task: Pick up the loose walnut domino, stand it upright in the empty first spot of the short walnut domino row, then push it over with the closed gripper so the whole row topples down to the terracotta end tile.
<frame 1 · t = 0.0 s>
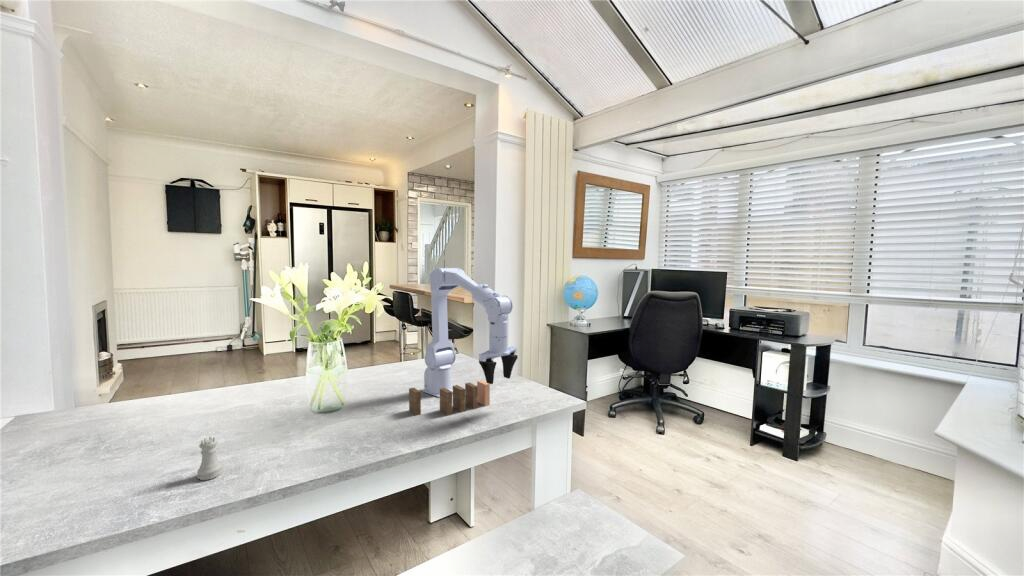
hand: (498, 380, 124), 10 cm above the table, tool pointing down, fingers open, 7 cm apart
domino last: (483, 403, 133), on the table
domino 3: (458, 409, 127), on the table
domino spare: (414, 412, 124), on the table
domino 4: (471, 406, 130), on the table
rook chess piece: (210, 476, 88), on the table
domino 2: (445, 412, 125), on the table
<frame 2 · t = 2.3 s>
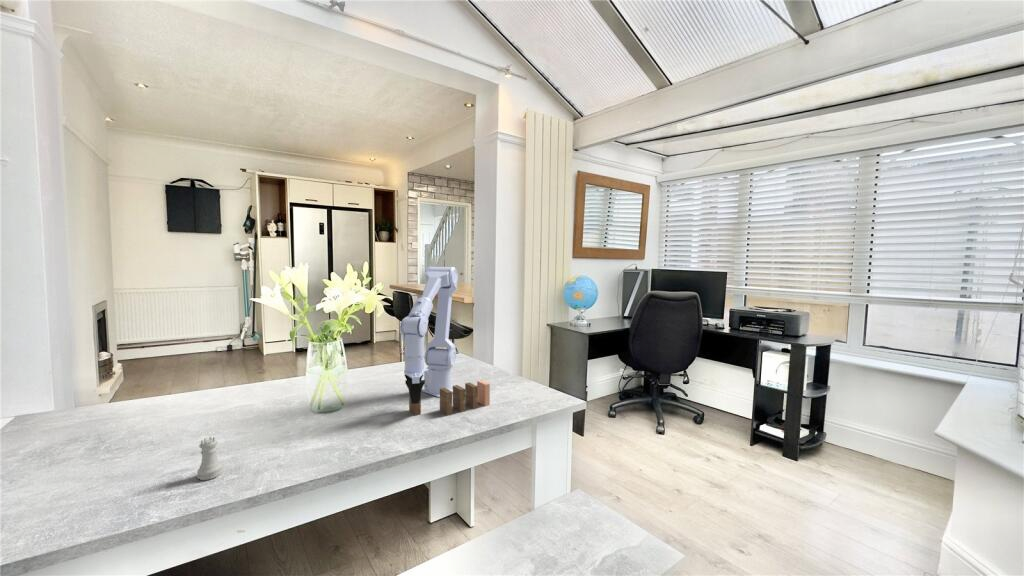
hand: (414, 399, 124), 4 cm above the table, tool pointing down, fingers closed on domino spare, 5 cm apart
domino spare: (414, 412, 124), on the table, touching gripper
everything else where it was.
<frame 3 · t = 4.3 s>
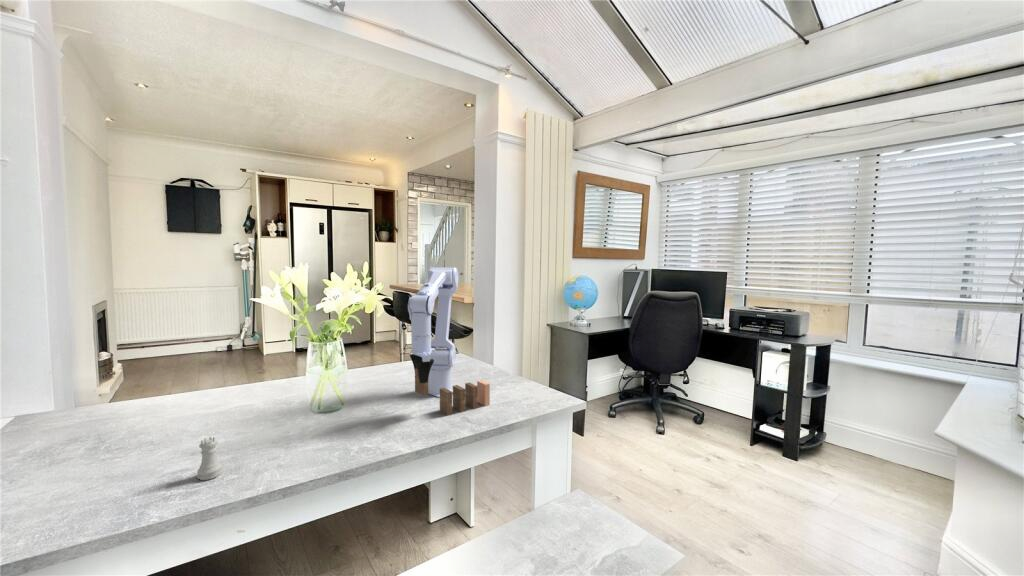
hand: (421, 379, 123), 10 cm above the table, tool pointing down, fingers closed on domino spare, 5 cm apart
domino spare: (421, 392, 123), point 6 cm above the table, touching gripper
everything else where it was.
when the fingers open (5 cm above the table, at t = 6.5 s): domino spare drops 1 cm, on the table.
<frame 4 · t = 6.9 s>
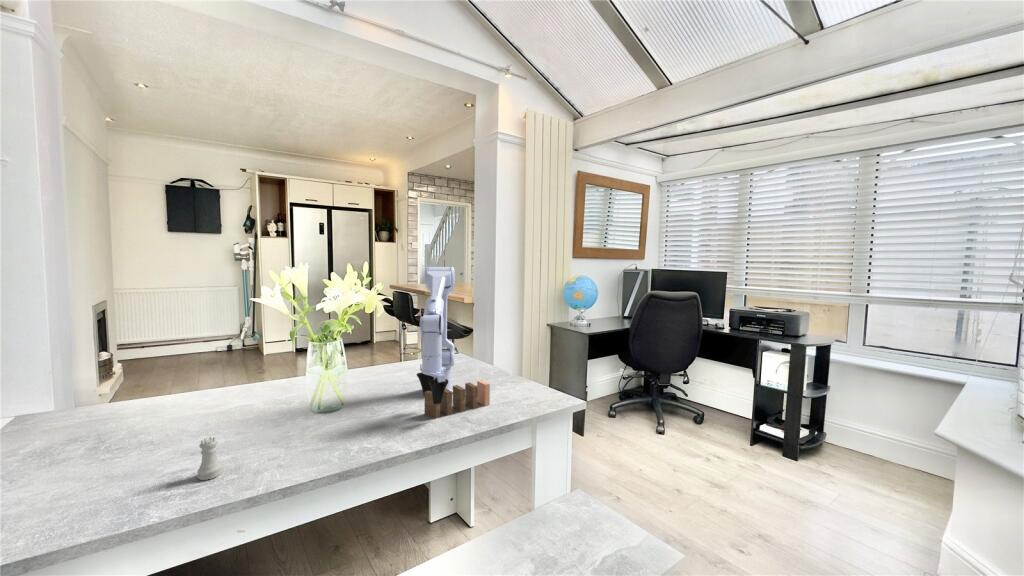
hand: (432, 399, 122), 5 cm above the table, tool pointing down, fingers open, 7 cm apart
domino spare: (432, 415, 122), on the table
everything else where it was.
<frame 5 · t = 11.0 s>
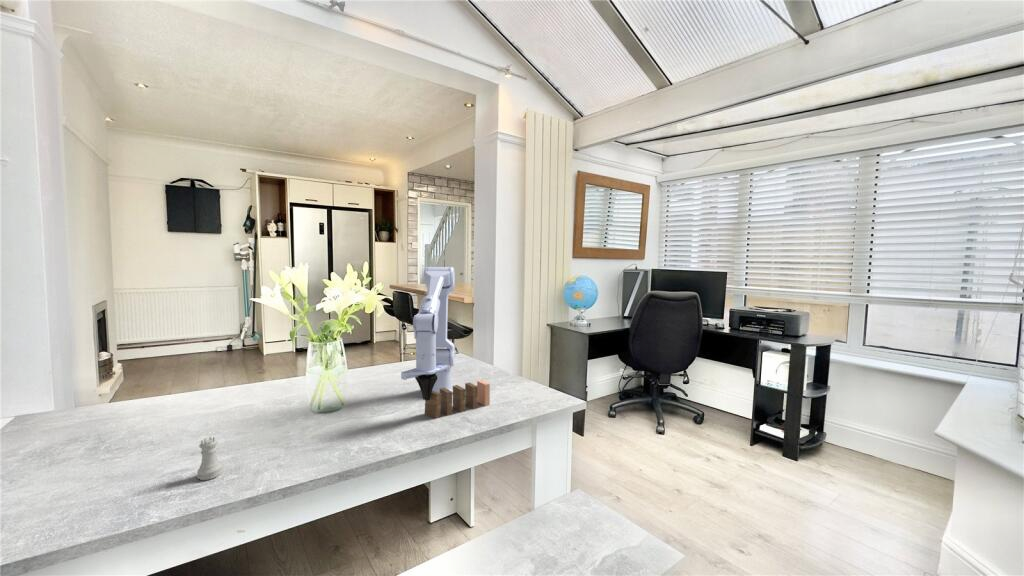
hand: (426, 399, 120), 5 cm above the table, tool pointing down, fingers closed
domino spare: (432, 415, 122), on the table, touching gripper
everything else where it was.
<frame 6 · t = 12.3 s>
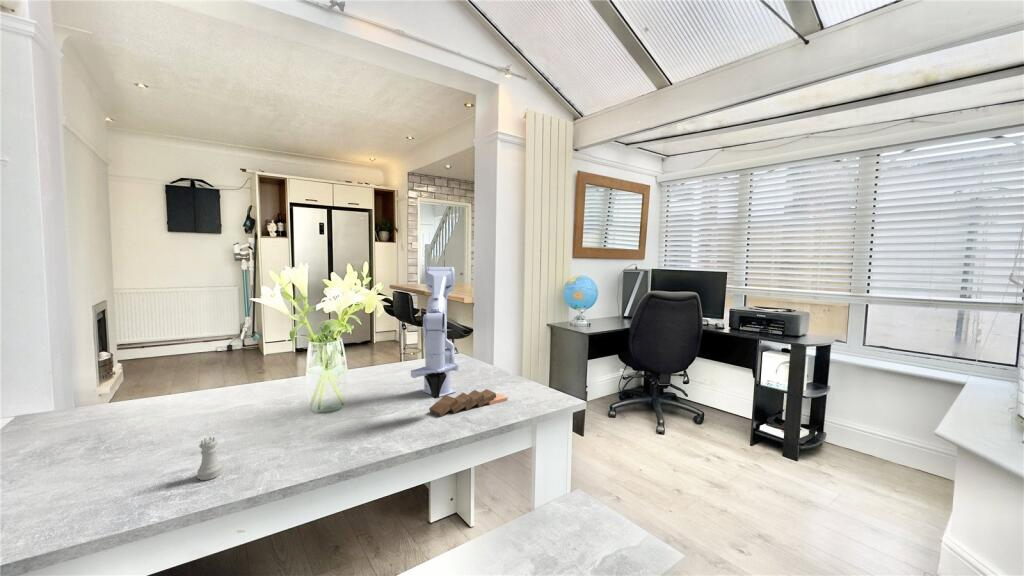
hand: (435, 397, 122), 5 cm above the table, tool pointing down, fingers closed
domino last: (485, 402, 133), on the table, tilted 90°, touching domino 4
domino 3: (462, 406, 128), point 1 cm above the table, tilted 69°, touching domino 2, domino 4
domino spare: (435, 412, 122), point 1 cm above the table, tilted 69°, touching domino 2
domino 4: (474, 402, 131), point 1 cm above the table, tilted 75°, touching domino 3, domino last
domino 2: (449, 409, 125), point 1 cm above the table, tilted 69°, touching domino 3, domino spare
everything else where it was.
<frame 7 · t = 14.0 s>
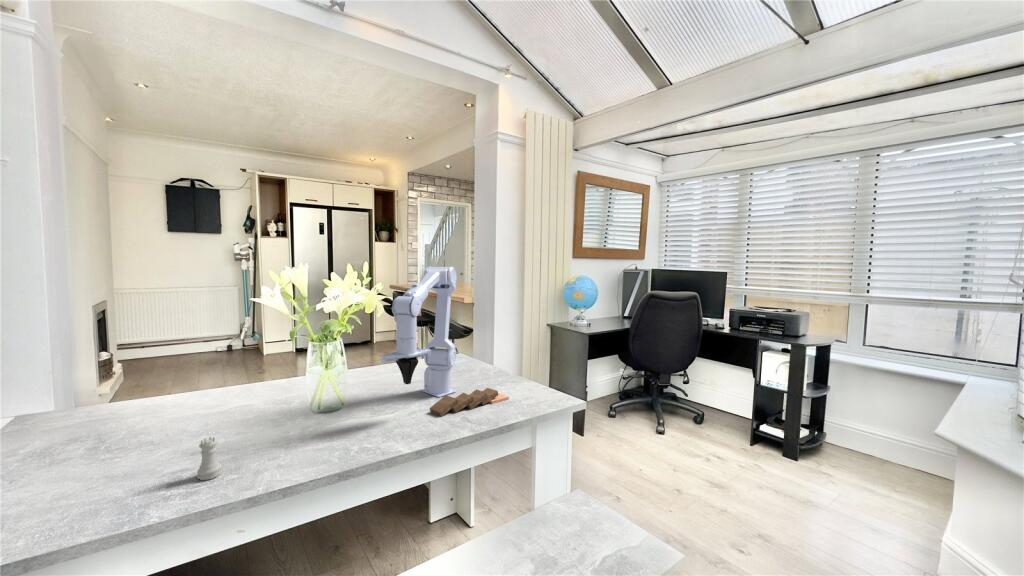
hand: (407, 383, 119), 10 cm above the table, tool pointing down, fingers closed
domino 3: (465, 405, 129), point 1 cm above the table, tilted 70°
domino 4: (477, 401, 132), point 1 cm above the table, tilted 76°, touching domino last
domino 2: (450, 408, 126), point 1 cm above the table, tilted 71°, touching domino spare
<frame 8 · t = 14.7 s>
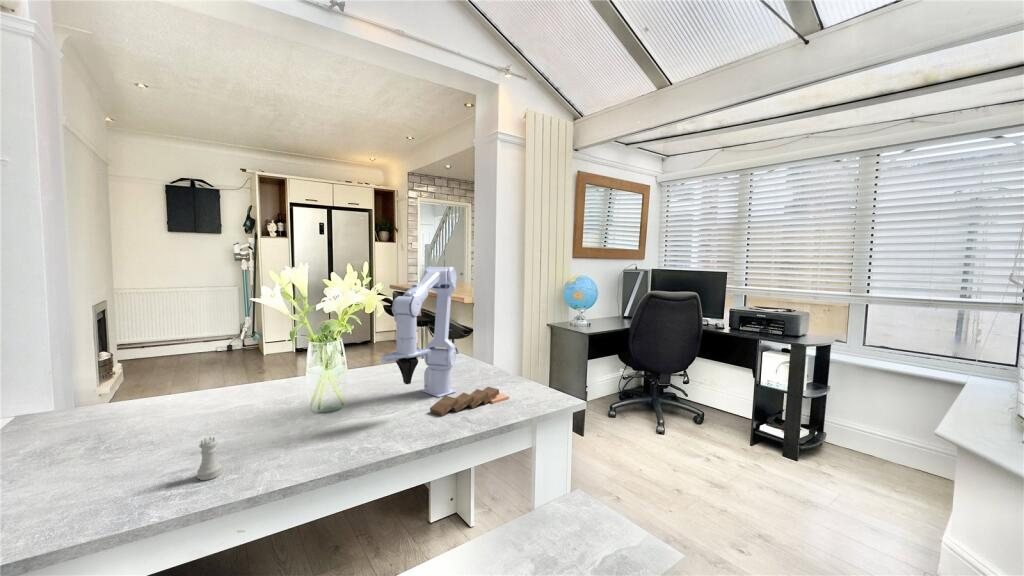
hand: (407, 383, 119), 10 cm above the table, tool pointing down, fingers closed
domino 3: (467, 404, 129), point 1 cm above the table, tilted 70°, touching domino 2, domino 4
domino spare: (435, 412, 123), point 1 cm above the table, tilted 72°
domino 4: (479, 400, 133), point 1 cm above the table, tilted 75°, touching domino 3, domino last
domino 2: (451, 408, 126), point 1 cm above the table, tilted 72°, touching domino 3
at the end: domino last tilted 90°; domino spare tilted 72°; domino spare inside the target area (0.3 cm from its centre), point 0.7 cm above the table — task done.
